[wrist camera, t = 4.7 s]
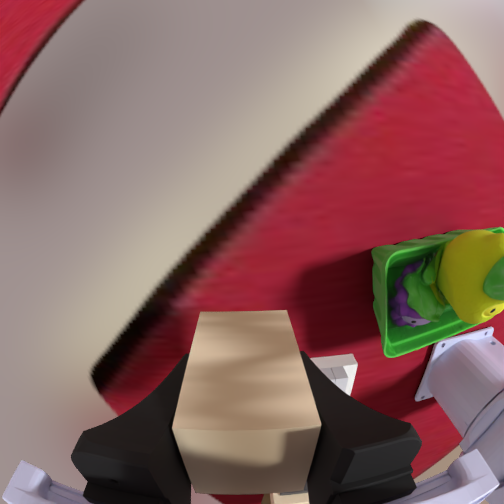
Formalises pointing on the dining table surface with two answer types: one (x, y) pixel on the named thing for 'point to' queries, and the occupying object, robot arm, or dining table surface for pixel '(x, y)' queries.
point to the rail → (342, 376)
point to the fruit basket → (436, 287)
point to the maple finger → (246, 406)
